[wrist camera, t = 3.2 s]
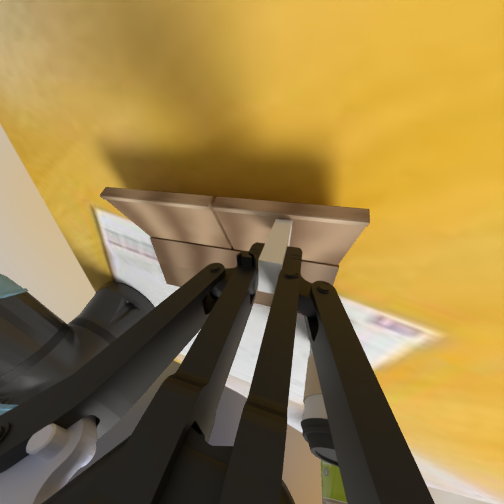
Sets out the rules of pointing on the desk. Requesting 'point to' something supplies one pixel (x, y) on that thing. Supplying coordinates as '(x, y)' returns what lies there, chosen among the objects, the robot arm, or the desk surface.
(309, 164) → the desk surface
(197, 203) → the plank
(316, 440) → the coffee cup
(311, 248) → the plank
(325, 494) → the tea box
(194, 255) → the laid board
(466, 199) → the desk surface
